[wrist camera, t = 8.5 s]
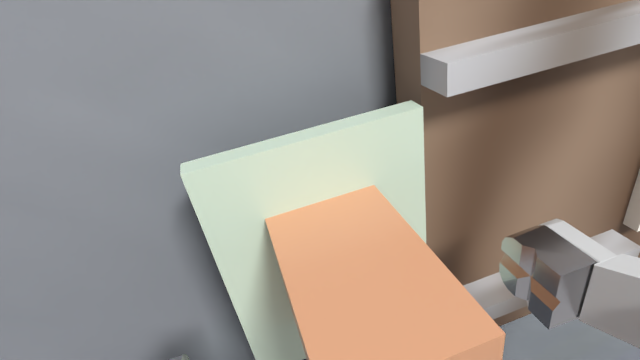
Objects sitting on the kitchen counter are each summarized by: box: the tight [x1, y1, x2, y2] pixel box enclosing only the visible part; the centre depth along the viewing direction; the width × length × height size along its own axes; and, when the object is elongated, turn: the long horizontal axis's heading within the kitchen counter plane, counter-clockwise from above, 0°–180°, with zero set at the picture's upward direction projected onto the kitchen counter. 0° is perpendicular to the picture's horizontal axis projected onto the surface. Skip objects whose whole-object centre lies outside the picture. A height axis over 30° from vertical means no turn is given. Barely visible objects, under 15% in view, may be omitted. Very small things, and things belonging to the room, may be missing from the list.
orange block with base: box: [180, 100, 506, 360], centre depth 9 cm, size 6×8×6 cm
